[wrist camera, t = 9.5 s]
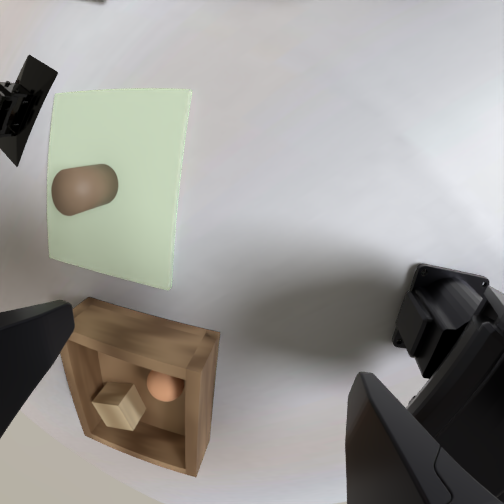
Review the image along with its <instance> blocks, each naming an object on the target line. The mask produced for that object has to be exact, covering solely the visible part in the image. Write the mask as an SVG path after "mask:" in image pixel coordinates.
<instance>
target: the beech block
mask: <svg viewBox="0 0 504 504" xmlns="http://www.w3.org/2000/svg"><path fill="white" fill-rule="evenodd" d="M92 403H93V405H94V407H95V408H96V410H97V412H98V413H99V415H100V416H101V418H102V420H103V421H104V423H105V424H106V426H108V427H113V428H119V429H125V430H131V431H133V430H134V429H135V427H136V425H137V424H138V422H139V420H140V419H141V417H142V415H143V414H144V412H145V410H146V409H147V408H146V407H145V405H144V403H143V401H142V399H141V397H140V395H139V393H138V391H137V389H136V387H135V385H134V384H129V383H116V382H107V384H106V385H105V386H104V387H103V389H102V390H101V391H100V392H99V394H98V395H97V396H96V397H95V399H94V400H93V401H92Z"/></svg>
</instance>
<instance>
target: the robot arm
mask: <svg viewBox="0 0 504 504" xmlns="http://www.w3.org/2000/svg"><path fill="white" fill-rule="evenodd" d="M424 269H426V272H425V273H424V274H421V272H422V270H424ZM483 282H484V285H482V283H483ZM396 326H397V328H396V330H395V333H394V335H393V338H392V342H393V344H394V346H395V347H400V348H406V349H407V351H408V354H409V355H410V357H412V358H415V360H416V362H417V364H418V367H419V369H420V371H421V374H422V376H423V378H428V379H429V380H428V381H427V383H426V384H425V385H424V386H423V388H422V389H421V390H420V391H419V393H418V394H417V395H416V396H414V397H413V398H412V399H411V400H410V401H409V404H408V406H407V407H406V408H405V407H404V406H403V405H402V404H401V403H400V402H399V400H398V399H397V398H396V397H395V396H394V395H393V394H392V393H391V392H390V391H389V390H388V389H387V388H386V387H385V386H384V385H383V383H382V382H381V381H380V380H379V379H378V378H377V377H376V376H375V375H374V374H373V373H368V372H359V373H358V374H357V376H356V378H355V381H354V383H353V385H352V388H351V390H350V392H349V396H348V406H347V424H346V439H345V453H346V478H347V504H504V294H503V293H502V292H500V291H498V290H496V289H494V288H493V287H491V286H489V280H488V279H487V278H486V277H484V276H479V275H475V274H470V273H466V272H461V271H456V270H452V269H447V268H442V267H437V266H433V265H428V264H421V265H419V266H418V267H417V269H416V272H415V276H414V279H413V282H412V285H411V288H410V291H408V292H407V293H406V295H405V298H404V301H403V304H402V307H401V309H400V312H399V315H398V318H397V321H396ZM74 328H75V322H74V315H73V308H72V305H71V304H70V303H68V302H66V301H63V300H58V301H53V302H48V303H44V304H39V305H34V306H29V307H25V308H20V309H15V310H10V311H6V312H1V313H0V438H1V437H2V435H3V434H4V432H5V431H6V429H7V428H8V426H9V425H10V423H11V422H12V420H13V419H14V417H15V416H16V414H17V413H18V411H19V410H20V409H21V407H22V406H23V404H24V403H25V401H26V400H27V399H28V397H29V396H30V394H31V393H32V392H33V390H34V389H35V388H36V386H37V385H38V383H39V382H40V381H41V379H42V378H43V377H44V375H45V374H46V373H47V371H48V370H49V369H50V367H51V366H52V365H53V363H54V362H55V360H56V359H57V357H58V355H59V354H60V352H61V350H62V349H63V347H64V346H65V344H66V342H67V341H68V339H69V338H70V336H71V334H72V333H73V331H74ZM398 339H401V340H400V341H398V342H397V340H398Z"/></svg>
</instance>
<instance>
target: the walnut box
mask: <svg viewBox="0 0 504 504" xmlns="http://www.w3.org/2000/svg"><path fill="white" fill-rule="evenodd" d="M73 315H74V322H75V328H74V331H73V333H72V334H71V336H70V338H69V339H68V341H67V342H66V344H65V346H64V347H63V349H62V350H61V352H60V354H61V358H62V362H63V366H64V370H65V374H66V378H67V381H68V385H69V388H70V392H71V395H72V398H73V402H74V405H75V408H76V411H77V414H78V417H79V420H80V423H81V426H82V429H83V431H84V434H85V436H87V437H89V438H92V439H94V440H96V441H98V442H100V443H102V444H105V445H107V446H109V447H112V448H114V449H116V450H119V451H121V452H123V453H126V454H128V455H131V456H133V457H136V458H139V459H141V460H144V461H147V462H150V463H152V464H155V465H158V466H161V467H164V468H167V469H170V470H173V471H177V472H180V473H183V474H187V475H190V476H194V477H196V476H197V473H198V471H199V468H200V465H201V463H202V460H203V457H204V454H205V451H206V449H207V446H208V443H209V440H210V429H211V418H212V407H213V397H214V387H215V377H216V367H217V357H218V347H219V338H220V332H216V331H212V330H208V329H203V328H199V327H195V326H191V325H187V324H183V323H179V322H175V321H171V320H167V319H163V318H160V317H156V316H152V315H148V314H145V313H141V312H138V311H134V310H131V309H127V308H124V307H120V306H117V305H114V304H110V303H107V302H104V301H100V300H97V299H94V298H91V297H88V298H87V299H85V300H84V301H83V302H81V303H80V304H79V305H77V306H76V307H75V308H73ZM152 370H153V371H157V372H160V373H163V374H167V375H170V376H173V377H177V378H180V379H183V380H184V389H183V392H182V393H181V395H180V396H179V397H178V398H177V399H175V400H173V401H169V402H164V401H160V400H158V399H156V398H154V397H153V396H152V395H151V393H150V392H149V390H148V387H147V378H148V375H149V373H150V372H151V371H152ZM107 382H116V383H129V384H134V385H135V387H136V389H137V391H138V393H139V395H140V397H141V399H142V401H143V403H144V405H145V407H146V408H147V409H146V410H145V412H144V414H143V415H142V417H141V419H140V420H139V422H138V424H137V425H136V427H135V429H134V430H133V431H131V430H125V429H119V428H113V427H108V426H106V424H105V423H104V421H103V420H102V418H101V416H100V415H99V413H98V412H97V410H96V408H95V407H94V405H93V403H92V401H93V400H94V399H95V397H96V396H97V395H98V394H99V392H100V391H101V390H102V389H103V387H104V386H105V385H106V384H107Z"/></svg>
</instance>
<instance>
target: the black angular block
mask: <svg viewBox="0 0 504 504" xmlns="http://www.w3.org/2000/svg"><path fill="white" fill-rule="evenodd" d="M57 74H58V72H57V71H55V70H54V69H52V68H50V67H49V66H47V65H45V64H44V63H42V62H41V61H39V60H37V59H36V58H34V57H32V56H31V55H28V57H27V59H26V61H25V63H24V65H23V67H22V69H21V71H20V73H19V76H18V78H17V80H16V82H15V83H10V82H9V81H6V82H0V148H1V150H2V151H3V152H4V153H5V154H6V155H7V157H8V158H9V159H10V160H11V161H12V162H13V163H14V164H15V165H16V167H18V164H19V161H20V159H21V156H22V153H23V150H24V148H25V145H26V142H27V140H28V137H29V135H30V132H31V130H32V127H33V125H34V122H35V120H36V118H37V116H38V113H39V111H40V109H41V107H42V104H43V102H44V100H45V98H46V96H47V94H48V92H49V90H50V88H51V86H52V84H53V82H54V80H55V78H56V76H57Z"/></svg>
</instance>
